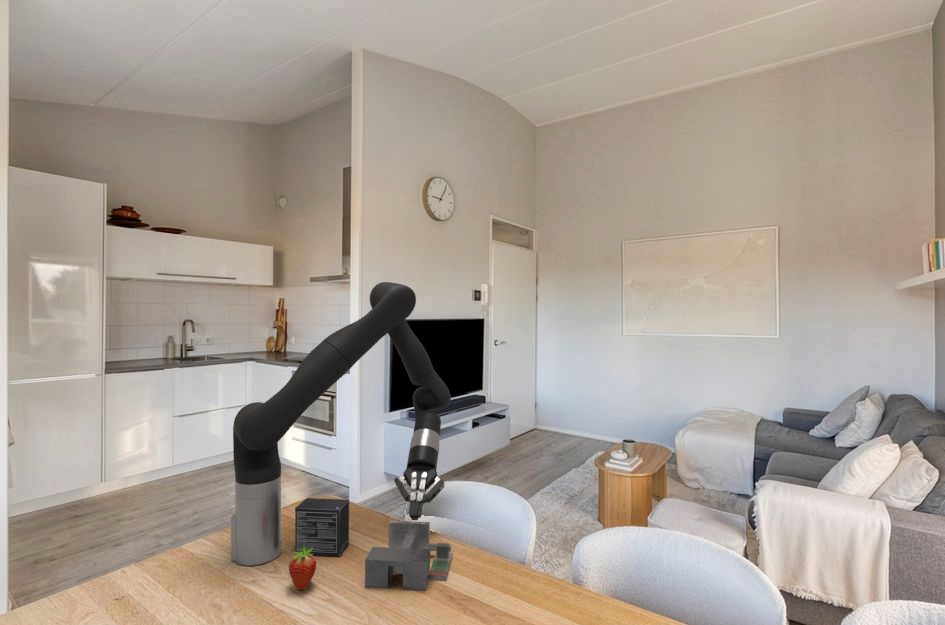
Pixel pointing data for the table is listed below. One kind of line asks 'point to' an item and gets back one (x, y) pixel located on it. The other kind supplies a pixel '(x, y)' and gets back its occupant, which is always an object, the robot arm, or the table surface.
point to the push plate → (410, 537)
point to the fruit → (302, 568)
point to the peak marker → (442, 550)
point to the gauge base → (404, 567)
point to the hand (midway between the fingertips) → (414, 518)
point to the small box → (322, 526)
